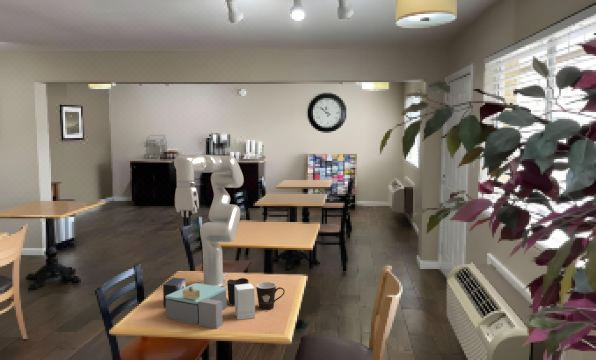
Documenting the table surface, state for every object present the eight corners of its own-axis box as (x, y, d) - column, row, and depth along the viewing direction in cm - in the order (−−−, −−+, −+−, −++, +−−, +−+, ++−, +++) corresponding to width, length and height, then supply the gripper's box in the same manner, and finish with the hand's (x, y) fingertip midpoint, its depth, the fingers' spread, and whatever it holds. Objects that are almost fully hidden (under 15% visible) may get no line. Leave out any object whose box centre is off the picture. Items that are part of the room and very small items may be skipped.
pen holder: (234, 297, 228) (233, 276, 227) (252, 300, 225) (251, 278, 223) (223, 304, 219) (223, 283, 218) (242, 307, 216) (242, 285, 215)
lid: (195, 285, 221) (195, 282, 221) (226, 290, 214) (226, 287, 214) (165, 298, 203) (165, 295, 203) (197, 304, 196) (197, 301, 196)
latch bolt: (187, 295, 203) (187, 285, 202) (199, 297, 200) (199, 287, 199) (183, 297, 200) (182, 287, 199) (195, 299, 197) (194, 289, 197)
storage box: (196, 302, 222) (195, 281, 221) (243, 311, 211) (243, 289, 210) (166, 318, 204) (165, 295, 203) (216, 328, 193) (215, 304, 192)
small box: (176, 308, 215) (175, 285, 214) (162, 307, 217) (161, 284, 215) (186, 300, 226) (186, 277, 224) (173, 299, 227) (172, 277, 226)
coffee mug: (253, 309, 213) (252, 287, 212) (261, 303, 221) (261, 281, 220) (277, 313, 209) (277, 290, 208) (285, 306, 217) (285, 284, 216)
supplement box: (255, 318, 204) (254, 288, 202) (237, 320, 202) (236, 290, 200) (252, 311, 211) (251, 282, 210) (234, 313, 209) (234, 284, 207)
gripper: (204, 184, 217) (206, 225, 219) (177, 182, 223) (179, 222, 225) (194, 186, 210) (195, 228, 212) (166, 184, 217) (168, 226, 219)
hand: (187, 225), depth 219 cm, fingers closed
